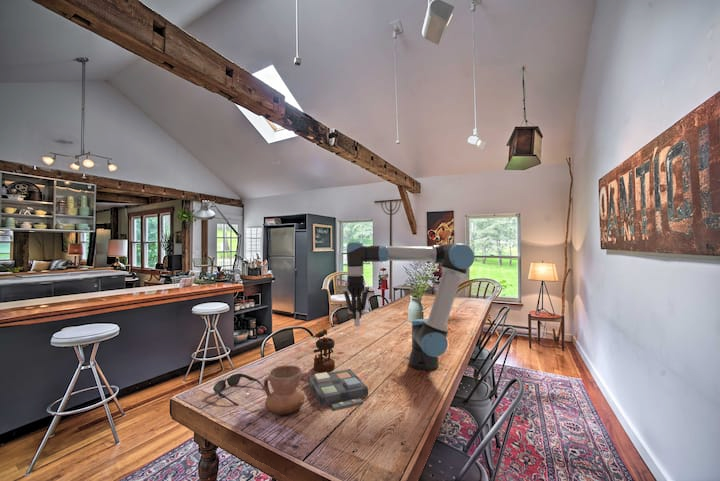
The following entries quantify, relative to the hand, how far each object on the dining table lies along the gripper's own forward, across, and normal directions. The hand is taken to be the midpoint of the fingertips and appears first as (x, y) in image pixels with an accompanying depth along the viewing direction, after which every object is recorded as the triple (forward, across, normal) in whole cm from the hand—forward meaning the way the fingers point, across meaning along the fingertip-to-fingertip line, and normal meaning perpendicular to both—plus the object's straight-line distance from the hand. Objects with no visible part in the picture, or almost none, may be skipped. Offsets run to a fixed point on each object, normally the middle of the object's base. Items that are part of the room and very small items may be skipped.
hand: (357, 325), depth 139 cm
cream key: (+21, +18, +1) cm, 28 cm away
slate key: (+21, +8, +12) cm, 26 cm away
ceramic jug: (+24, +36, +11) cm, 45 cm away
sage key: (+23, +18, +11) cm, 31 cm away
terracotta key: (+23, +8, +2) cm, 24 cm away
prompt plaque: (+24, +14, +19) cm, 34 cm away
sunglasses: (+24, +51, -9) cm, 57 cm away
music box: (+24, +10, -17) cm, 32 cm away
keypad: (+24, +13, +7) cm, 28 cm away
